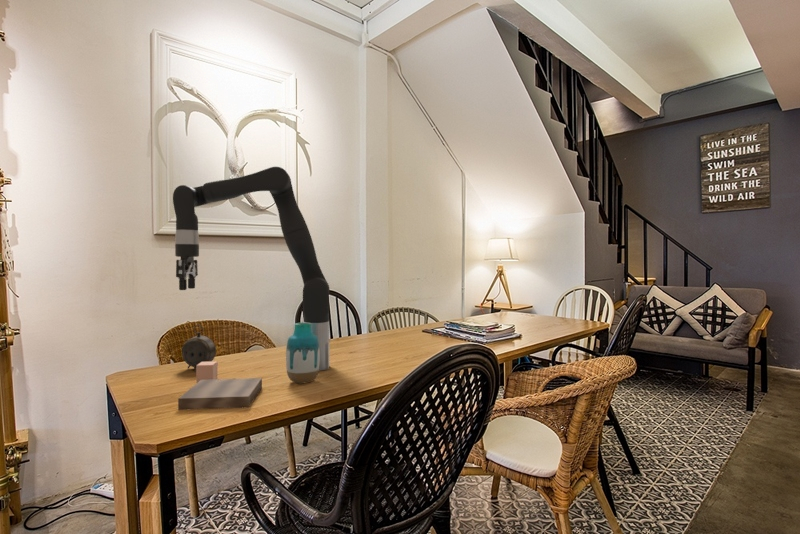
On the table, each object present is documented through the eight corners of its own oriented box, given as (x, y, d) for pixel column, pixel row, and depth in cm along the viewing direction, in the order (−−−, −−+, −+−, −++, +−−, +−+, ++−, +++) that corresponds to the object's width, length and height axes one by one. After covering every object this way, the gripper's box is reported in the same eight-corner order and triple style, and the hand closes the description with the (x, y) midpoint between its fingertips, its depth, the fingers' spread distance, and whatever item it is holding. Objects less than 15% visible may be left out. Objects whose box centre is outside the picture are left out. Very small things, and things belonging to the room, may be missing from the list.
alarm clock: (216, 368, 158) (216, 323, 158) (208, 372, 153) (208, 326, 153) (188, 367, 159) (188, 323, 159) (179, 371, 154) (179, 325, 154)
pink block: (217, 379, 144) (217, 361, 144) (212, 383, 139) (212, 365, 139) (201, 379, 143) (201, 361, 143) (196, 384, 138) (196, 365, 138)
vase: (308, 376, 148) (308, 320, 148) (325, 382, 141) (326, 323, 141) (279, 382, 141) (280, 323, 141) (297, 389, 133) (297, 327, 133)
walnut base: (261, 387, 135) (261, 378, 134) (248, 407, 117) (248, 396, 117) (201, 389, 132) (201, 379, 132) (178, 409, 114) (178, 398, 114)
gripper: (191, 242, 146) (191, 290, 146) (204, 244, 160) (204, 287, 161) (167, 242, 145) (168, 290, 145) (183, 243, 159) (183, 288, 160)
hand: (187, 289), depth 153 cm, fingers open, 8 cm apart
